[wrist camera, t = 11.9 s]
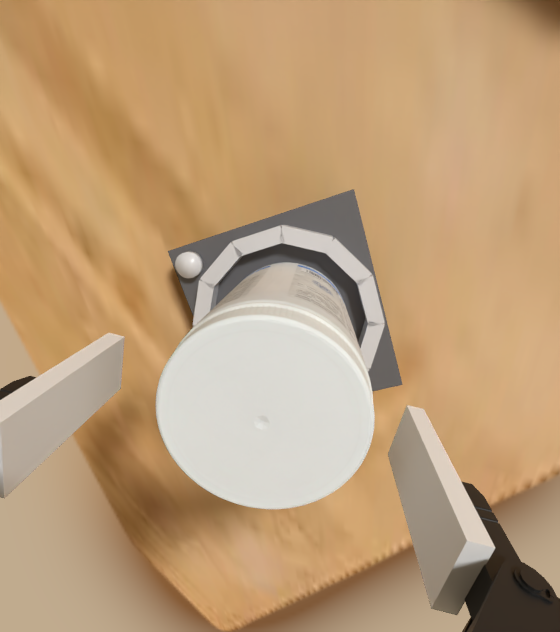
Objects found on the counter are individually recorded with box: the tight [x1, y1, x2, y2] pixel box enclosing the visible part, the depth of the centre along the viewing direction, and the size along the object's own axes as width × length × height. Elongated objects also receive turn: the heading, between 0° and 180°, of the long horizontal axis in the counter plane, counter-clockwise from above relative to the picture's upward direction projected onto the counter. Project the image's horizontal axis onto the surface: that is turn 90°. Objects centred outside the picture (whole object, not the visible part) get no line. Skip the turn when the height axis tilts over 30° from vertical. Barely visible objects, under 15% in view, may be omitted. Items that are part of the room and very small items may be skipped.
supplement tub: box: [156, 262, 374, 509], centre depth 21 cm, size 10×10×15 cm
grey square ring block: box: [168, 189, 402, 391], centre depth 30 cm, size 16×15×6 cm
